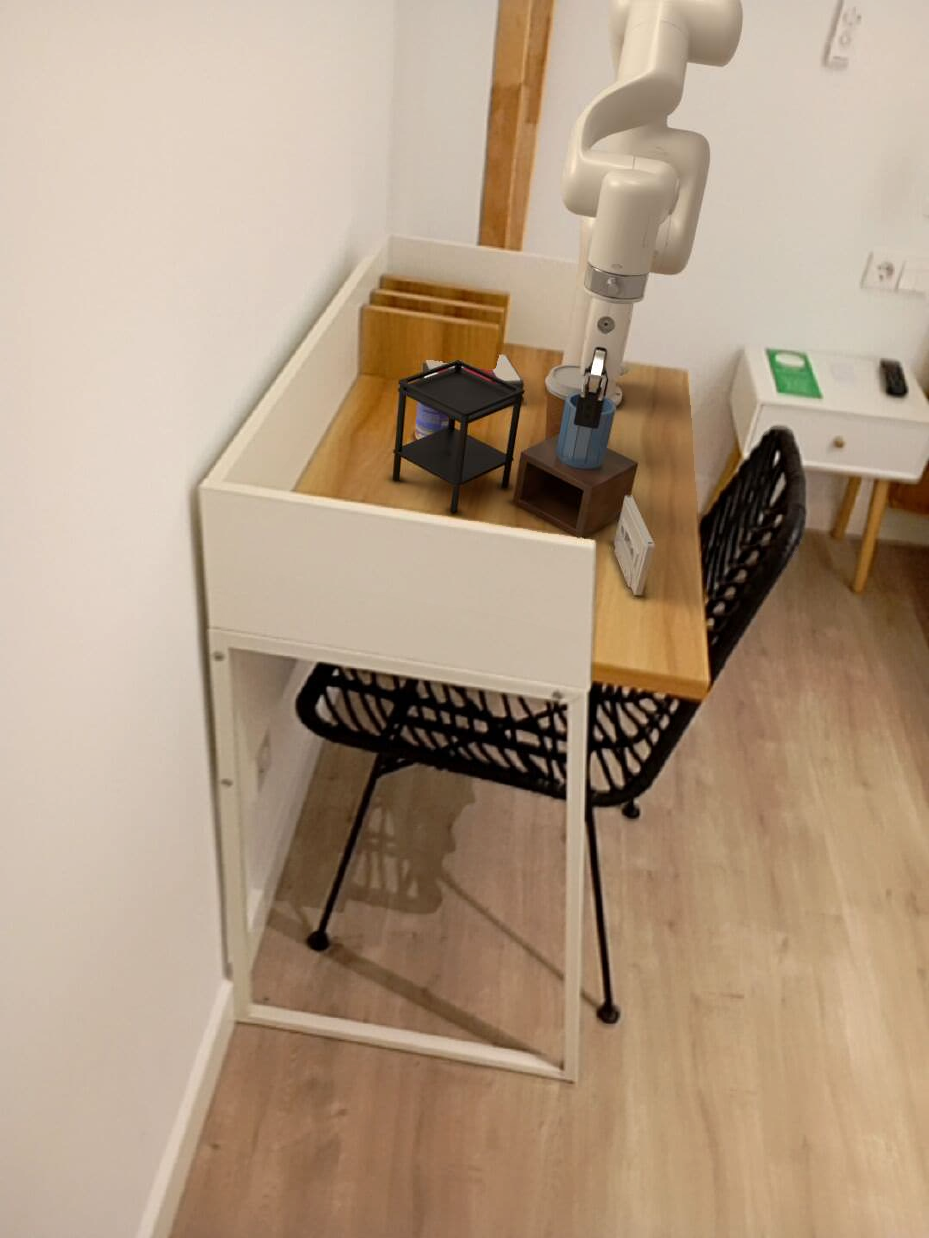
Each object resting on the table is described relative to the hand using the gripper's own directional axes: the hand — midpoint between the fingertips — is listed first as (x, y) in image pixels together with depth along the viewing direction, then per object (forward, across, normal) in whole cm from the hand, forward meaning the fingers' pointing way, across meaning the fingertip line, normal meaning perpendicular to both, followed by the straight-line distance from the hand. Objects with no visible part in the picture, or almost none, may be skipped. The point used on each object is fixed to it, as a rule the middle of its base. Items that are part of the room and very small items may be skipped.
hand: (589, 410), depth 133 cm
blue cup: (+7, 0, 0) cm, 7 cm away
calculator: (+15, +33, +21) cm, 41 cm away
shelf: (+15, +1, 0) cm, 15 cm away
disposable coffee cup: (+15, +18, +3) cm, 23 cm away
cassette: (+15, -12, -9) cm, 22 cm away
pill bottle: (+15, +13, +23) cm, 30 cm away
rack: (+15, +1, +17) cm, 23 cm away
